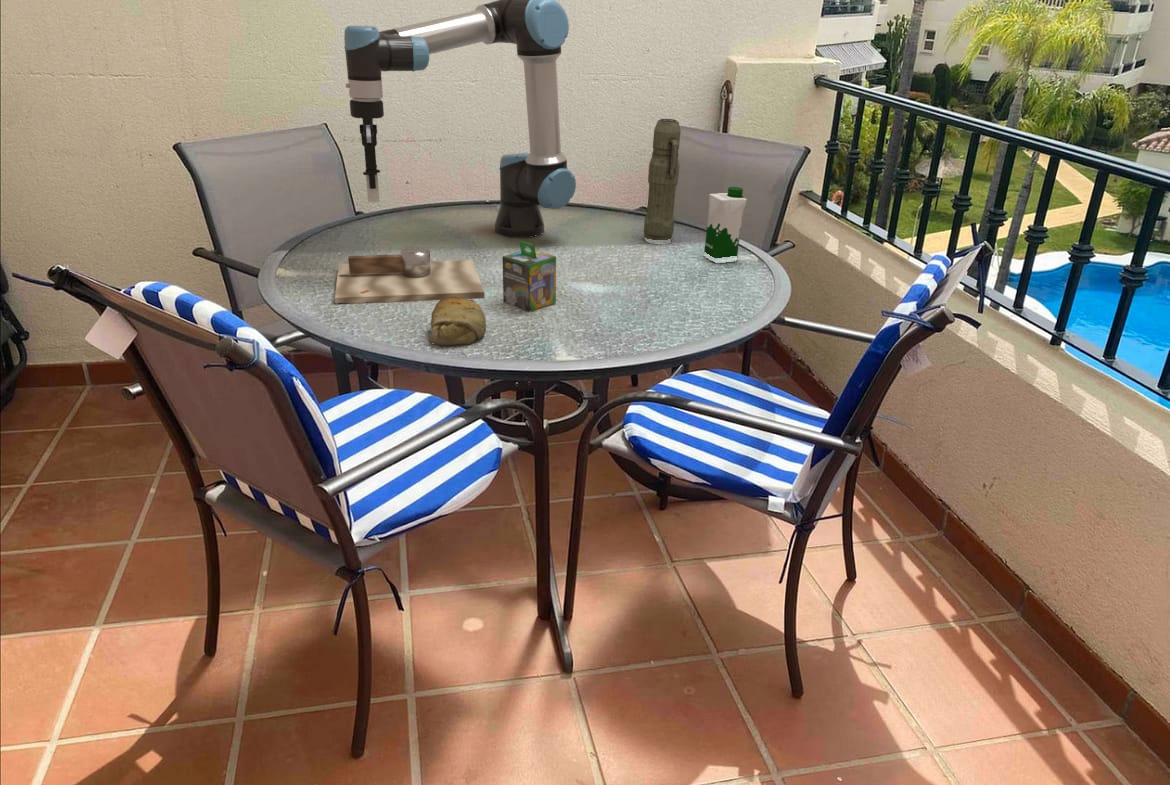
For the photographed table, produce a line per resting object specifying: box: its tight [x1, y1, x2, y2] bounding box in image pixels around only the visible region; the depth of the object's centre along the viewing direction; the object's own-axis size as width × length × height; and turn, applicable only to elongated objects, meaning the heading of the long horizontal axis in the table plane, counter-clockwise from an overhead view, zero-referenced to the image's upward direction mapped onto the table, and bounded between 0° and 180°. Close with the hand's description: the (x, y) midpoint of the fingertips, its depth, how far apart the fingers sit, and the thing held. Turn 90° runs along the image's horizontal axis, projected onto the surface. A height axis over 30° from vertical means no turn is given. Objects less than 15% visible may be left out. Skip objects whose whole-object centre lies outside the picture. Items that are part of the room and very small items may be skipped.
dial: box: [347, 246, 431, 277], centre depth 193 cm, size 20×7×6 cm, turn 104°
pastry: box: [429, 297, 487, 346], centre depth 164 cm, size 14×12×8 cm
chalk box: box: [502, 240, 557, 313], centre depth 182 cm, size 9×9×15 cm
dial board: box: [334, 259, 485, 304], centre depth 193 cm, size 34×25×2 cm
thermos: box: [643, 118, 682, 240], centre depth 230 cm, size 9×12×35 cm
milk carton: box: [703, 186, 748, 258], centre depth 218 cm, size 9×9×20 cm
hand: (373, 200), depth 192 cm, fingers closed
